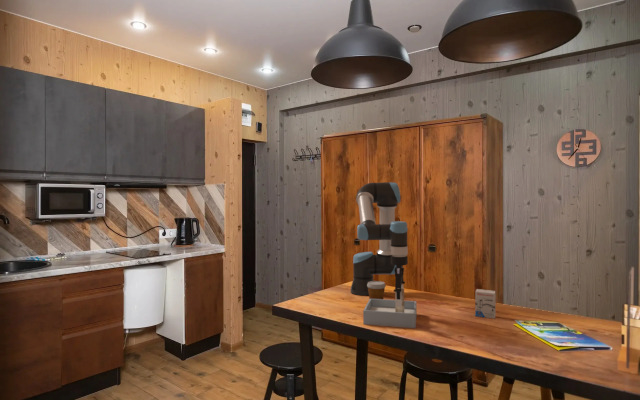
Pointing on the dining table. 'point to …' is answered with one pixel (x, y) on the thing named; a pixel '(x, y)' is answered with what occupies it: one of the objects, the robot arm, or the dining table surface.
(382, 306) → the socket box
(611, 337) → the dining table surface
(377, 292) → the disposable coffee cup
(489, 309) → the ink box
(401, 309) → the beech dowel
